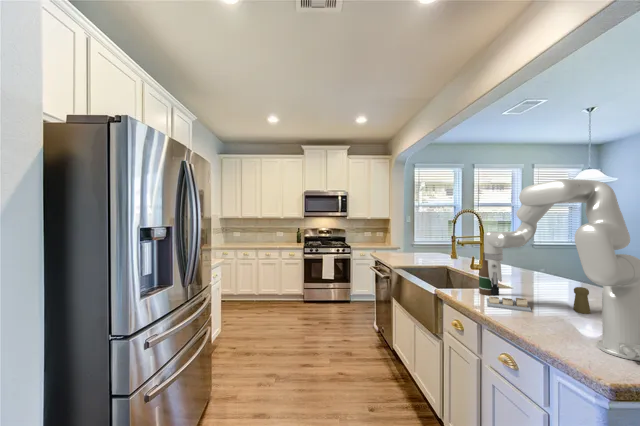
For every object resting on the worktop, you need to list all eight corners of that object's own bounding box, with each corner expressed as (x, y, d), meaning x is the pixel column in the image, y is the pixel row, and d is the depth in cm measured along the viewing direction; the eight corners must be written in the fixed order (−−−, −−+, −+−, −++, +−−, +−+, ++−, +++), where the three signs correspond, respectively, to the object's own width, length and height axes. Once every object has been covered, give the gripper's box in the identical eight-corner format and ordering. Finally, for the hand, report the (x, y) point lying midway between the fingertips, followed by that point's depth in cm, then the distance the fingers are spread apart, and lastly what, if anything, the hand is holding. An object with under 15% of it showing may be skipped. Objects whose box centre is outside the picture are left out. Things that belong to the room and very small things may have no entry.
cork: (594, 314, 126) (593, 289, 126) (578, 313, 128) (578, 289, 128) (584, 309, 132) (584, 286, 132) (569, 309, 133) (569, 285, 134)
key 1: (527, 308, 131) (527, 300, 131) (516, 307, 133) (516, 299, 133) (526, 306, 134) (526, 298, 134) (515, 305, 136) (515, 297, 136)
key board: (531, 315, 126) (531, 310, 126) (487, 309, 135) (487, 305, 135) (527, 306, 138) (527, 302, 138) (486, 301, 146) (486, 298, 146)
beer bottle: (476, 295, 158) (475, 252, 158) (485, 293, 161) (484, 251, 161) (489, 299, 151) (488, 253, 151) (498, 297, 154) (498, 252, 154)
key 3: (499, 307, 136) (499, 299, 136) (489, 305, 138) (489, 298, 138) (498, 304, 140) (498, 297, 140) (489, 303, 142) (489, 296, 142)
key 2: (513, 308, 133) (512, 300, 133) (503, 307, 135) (502, 299, 135) (512, 306, 137) (512, 298, 137) (502, 305, 139) (502, 297, 139)
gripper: (503, 259, 130) (505, 299, 130) (501, 255, 144) (503, 292, 143) (485, 258, 134) (486, 297, 134) (484, 255, 147) (485, 290, 147)
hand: (495, 294), depth 138 cm, fingers closed
